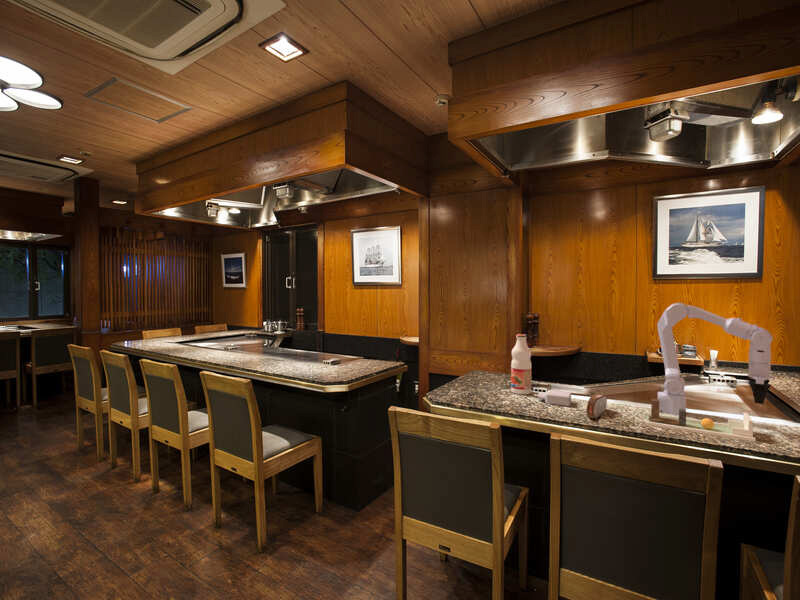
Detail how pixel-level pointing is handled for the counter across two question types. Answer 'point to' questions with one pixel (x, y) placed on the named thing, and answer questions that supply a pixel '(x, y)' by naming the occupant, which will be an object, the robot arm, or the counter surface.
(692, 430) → the pitch
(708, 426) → the ball
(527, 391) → the fruit juice
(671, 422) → the striker
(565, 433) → the counter surface
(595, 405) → the tin
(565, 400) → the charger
